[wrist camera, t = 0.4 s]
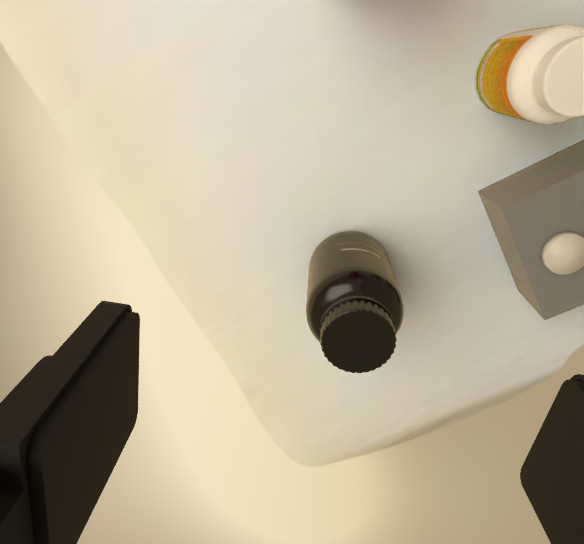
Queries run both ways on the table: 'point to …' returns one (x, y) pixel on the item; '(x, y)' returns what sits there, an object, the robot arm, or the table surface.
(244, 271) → the table surface
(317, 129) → the table surface
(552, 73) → the supplement bottle
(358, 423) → the table surface
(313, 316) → the supplement bottle
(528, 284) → the grey hollow block
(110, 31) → the table surface
